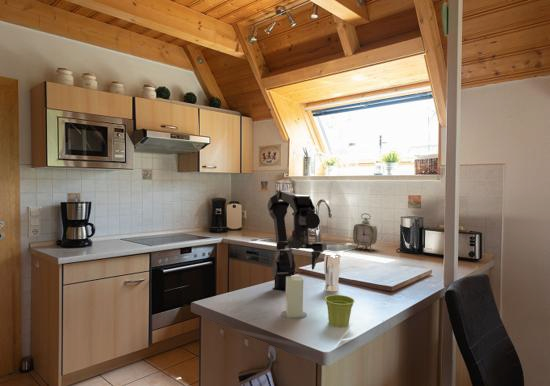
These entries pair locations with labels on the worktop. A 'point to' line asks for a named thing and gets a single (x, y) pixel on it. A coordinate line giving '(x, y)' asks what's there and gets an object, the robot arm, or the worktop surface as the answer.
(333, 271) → the beer glass
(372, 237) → the tabletop clock
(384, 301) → the worktop surface
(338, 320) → the plant pot
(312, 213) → the robot arm
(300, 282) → the cover
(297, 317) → the saucer
